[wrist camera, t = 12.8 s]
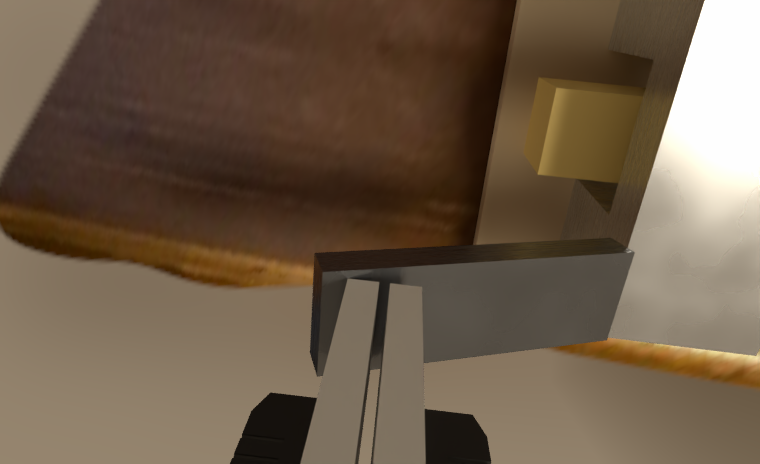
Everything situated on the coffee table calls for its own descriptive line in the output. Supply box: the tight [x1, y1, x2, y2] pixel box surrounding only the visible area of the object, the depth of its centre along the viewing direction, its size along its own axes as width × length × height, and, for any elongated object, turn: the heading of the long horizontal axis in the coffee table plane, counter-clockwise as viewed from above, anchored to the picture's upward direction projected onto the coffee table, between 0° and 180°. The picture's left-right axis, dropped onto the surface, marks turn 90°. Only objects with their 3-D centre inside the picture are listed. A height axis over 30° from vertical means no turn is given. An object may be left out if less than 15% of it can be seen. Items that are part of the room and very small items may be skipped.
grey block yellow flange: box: [524, 77, 646, 183], centre depth 18 cm, size 6×14×5 cm, turn 85°
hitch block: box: [560, 0, 760, 356], centre depth 17 cm, size 12×5×6 cm, turn 175°
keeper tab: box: [310, 238, 635, 376], centre depth 14 cm, size 3×9×1 cm, turn 85°
